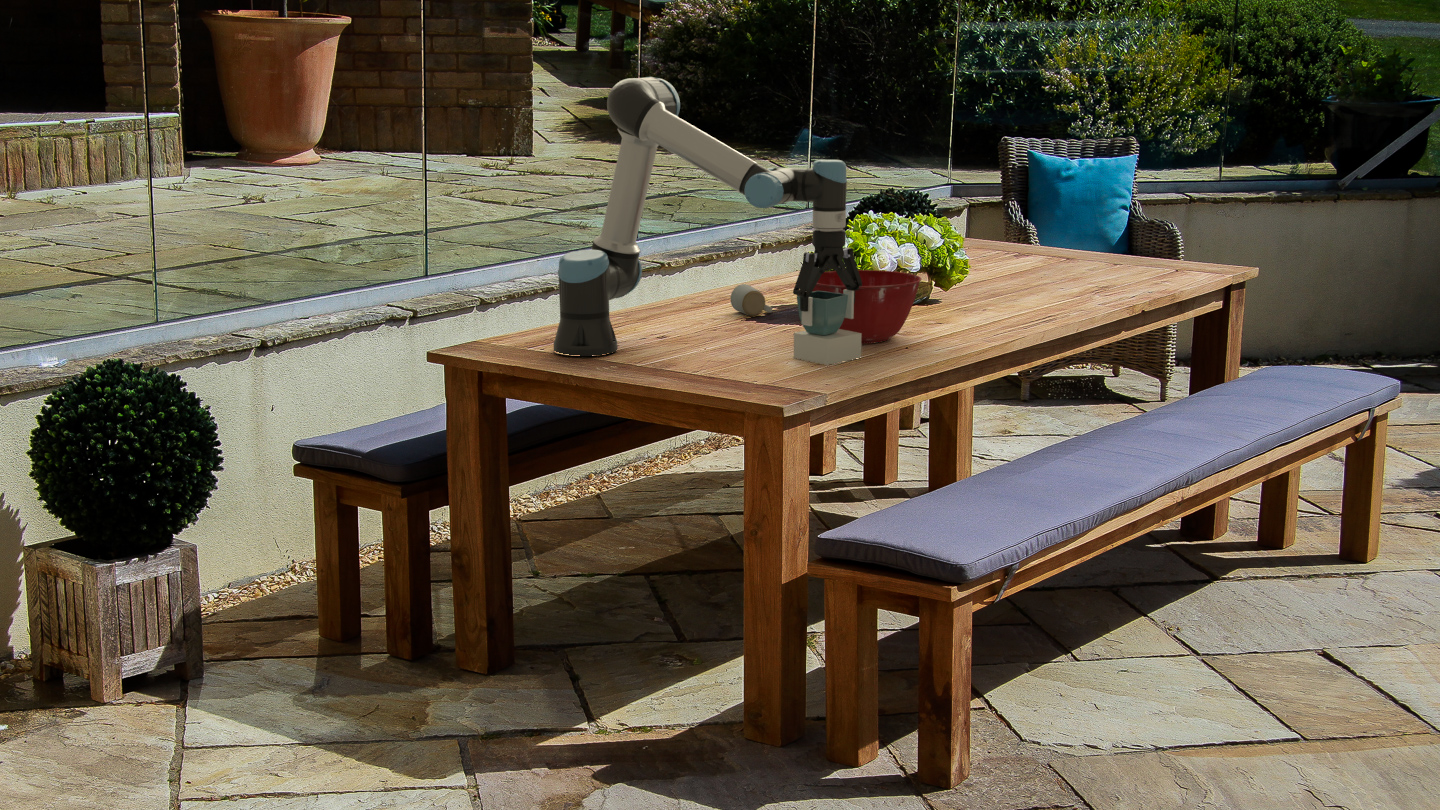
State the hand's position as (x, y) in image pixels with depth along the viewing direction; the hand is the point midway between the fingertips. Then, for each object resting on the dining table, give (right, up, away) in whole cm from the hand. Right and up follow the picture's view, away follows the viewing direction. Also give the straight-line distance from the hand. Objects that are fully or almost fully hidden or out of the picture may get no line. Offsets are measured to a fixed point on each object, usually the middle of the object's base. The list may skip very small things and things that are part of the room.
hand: (827, 321), depth 333 cm
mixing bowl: (+10, -3, +25) cm, 27 cm away
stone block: (0, -8, +2) cm, 9 cm away
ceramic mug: (-16, +5, +60) cm, 62 cm away
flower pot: (-1, -3, 0) cm, 3 cm away
